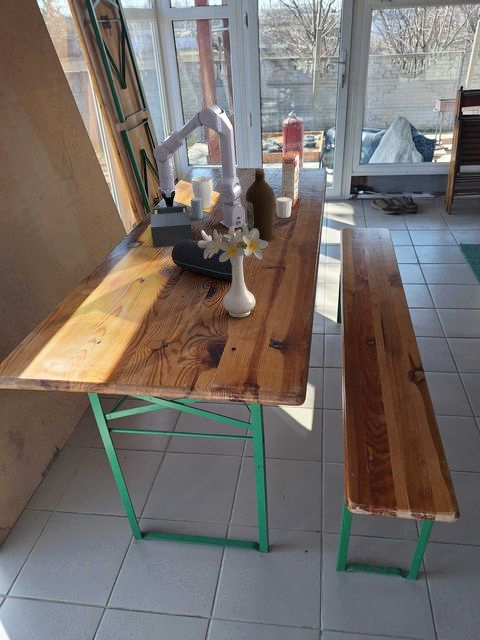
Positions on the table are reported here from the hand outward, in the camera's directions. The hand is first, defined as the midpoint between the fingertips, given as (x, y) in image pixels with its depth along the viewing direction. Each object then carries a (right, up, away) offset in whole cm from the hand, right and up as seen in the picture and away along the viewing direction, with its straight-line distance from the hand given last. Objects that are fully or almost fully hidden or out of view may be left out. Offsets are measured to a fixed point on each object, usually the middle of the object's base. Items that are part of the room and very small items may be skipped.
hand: (170, 209), depth 206 cm
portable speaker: (+21, -34, -43) cm, 59 cm away
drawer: (+2, -8, -7) cm, 11 cm away
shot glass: (+47, -2, +4) cm, 48 cm away
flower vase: (+31, -48, -66) cm, 87 cm away
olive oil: (+38, -15, -17) cm, 44 cm away
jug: (+11, -3, +3) cm, 12 cm away
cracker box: (+51, +8, +18) cm, 55 cm away
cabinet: (+4, -16, -17) cm, 24 cm away
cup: (+12, +6, +15) cm, 20 cm away
